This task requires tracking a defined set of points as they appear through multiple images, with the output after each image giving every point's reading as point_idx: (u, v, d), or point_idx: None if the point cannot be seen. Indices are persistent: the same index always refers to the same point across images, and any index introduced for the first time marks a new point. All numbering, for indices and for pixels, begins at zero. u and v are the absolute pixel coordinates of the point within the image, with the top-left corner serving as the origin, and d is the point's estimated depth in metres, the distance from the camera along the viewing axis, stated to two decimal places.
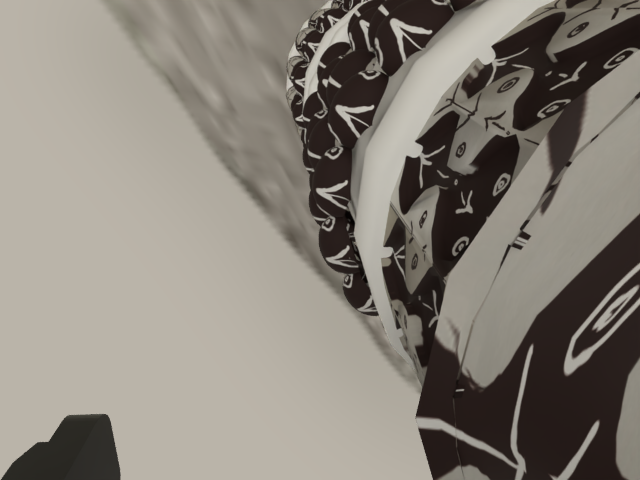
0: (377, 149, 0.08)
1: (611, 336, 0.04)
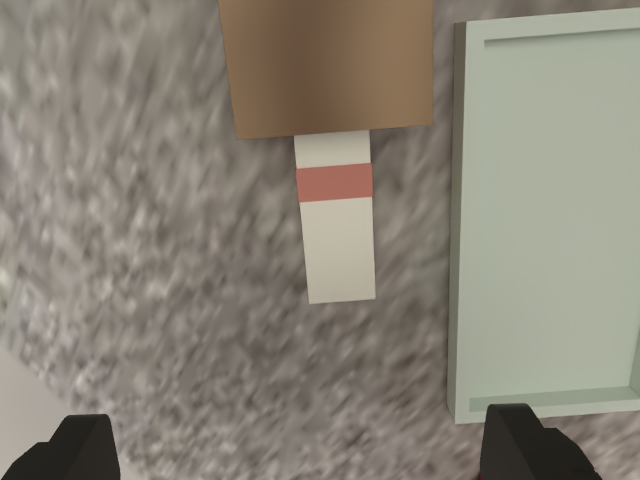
0: None
1: None
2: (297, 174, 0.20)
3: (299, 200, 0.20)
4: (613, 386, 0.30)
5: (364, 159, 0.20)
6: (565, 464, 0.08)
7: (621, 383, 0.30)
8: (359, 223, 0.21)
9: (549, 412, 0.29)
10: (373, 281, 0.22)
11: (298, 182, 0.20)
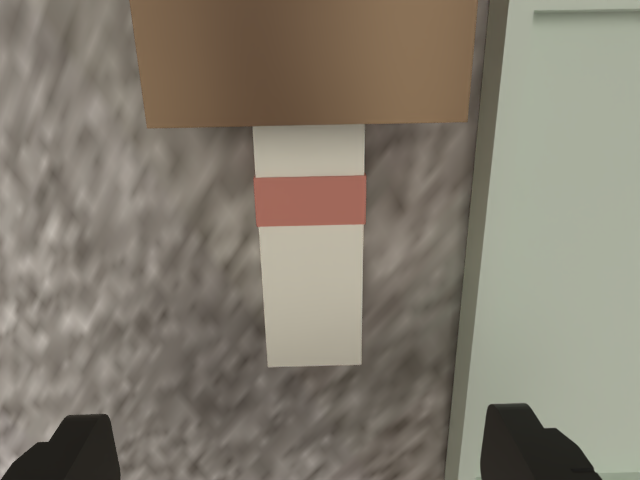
0: None
1: None
2: (256, 186, 0.14)
3: (258, 223, 0.14)
4: None
5: (355, 169, 0.14)
6: (565, 464, 0.08)
7: None
8: (343, 261, 0.15)
9: None
10: (359, 341, 0.16)
11: (257, 197, 0.14)
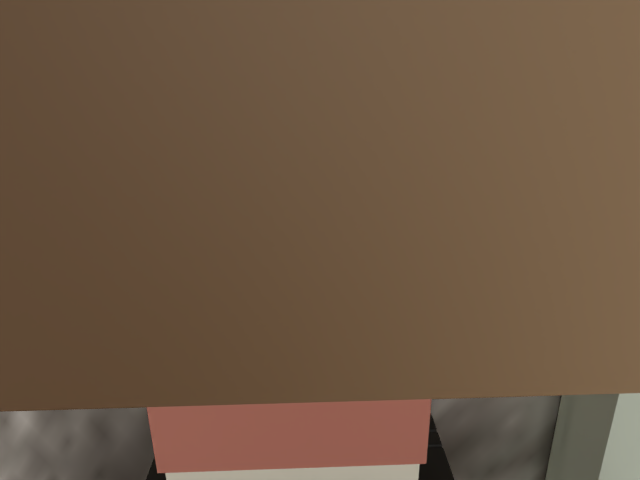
0: None
1: None
2: None
3: (160, 467, 0.06)
4: None
5: None
6: None
7: None
8: None
9: None
10: None
11: (155, 411, 0.05)
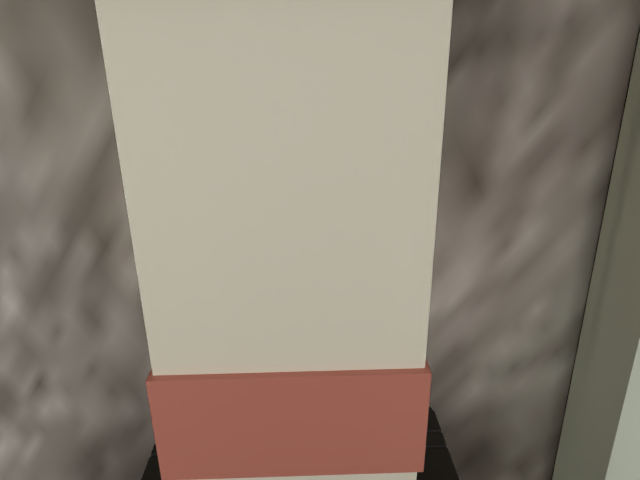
0: None
1: None
2: (154, 397, 0.05)
3: (164, 475, 0.06)
4: None
5: (405, 357, 0.05)
6: None
7: None
8: None
9: None
10: None
11: (159, 420, 0.06)
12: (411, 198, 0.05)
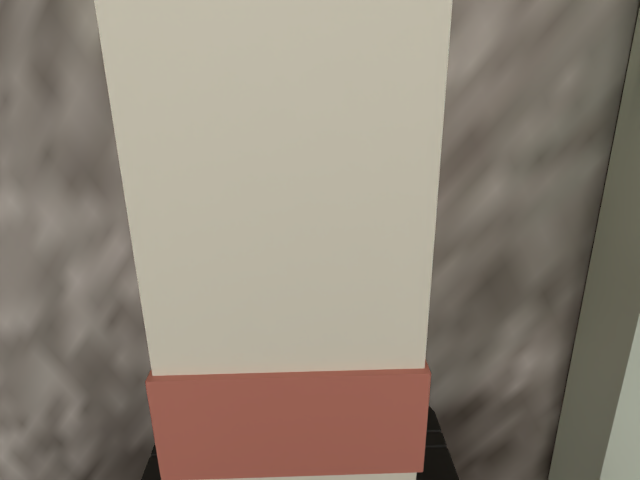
0: None
1: None
2: (153, 398, 0.05)
3: (164, 475, 0.06)
4: None
5: (404, 357, 0.05)
6: None
7: None
8: None
9: None
10: None
11: (159, 421, 0.06)
12: (410, 199, 0.05)
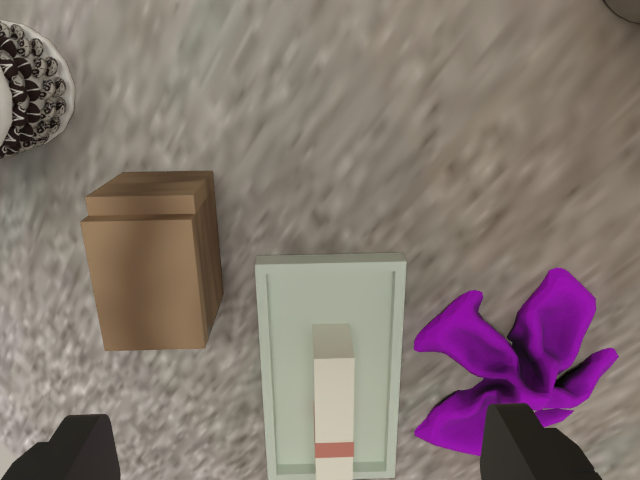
0: None
1: None
2: (315, 446, 0.39)
3: (315, 457, 0.39)
4: (373, 461, 0.46)
5: (350, 440, 0.39)
6: (565, 464, 0.08)
7: (379, 459, 0.46)
8: (345, 467, 0.40)
9: None
10: None
11: (315, 449, 0.39)
12: (350, 422, 0.38)
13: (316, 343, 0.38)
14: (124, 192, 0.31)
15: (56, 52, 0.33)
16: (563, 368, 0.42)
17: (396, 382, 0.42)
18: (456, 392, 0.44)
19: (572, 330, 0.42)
